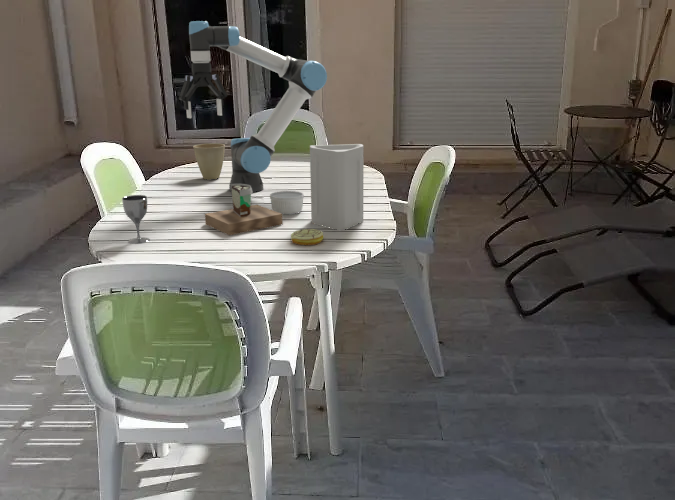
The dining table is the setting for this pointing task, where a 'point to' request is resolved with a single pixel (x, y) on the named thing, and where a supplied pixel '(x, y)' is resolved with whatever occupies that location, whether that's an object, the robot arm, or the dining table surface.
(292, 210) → the ramekin
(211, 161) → the plant pot
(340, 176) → the white triangular vase
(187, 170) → the dining table surface
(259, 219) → the walnut stand
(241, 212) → the food container
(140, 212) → the wine glass
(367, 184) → the dining table surface
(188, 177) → the dining table surface
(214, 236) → the dining table surface
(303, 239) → the decorated donut
